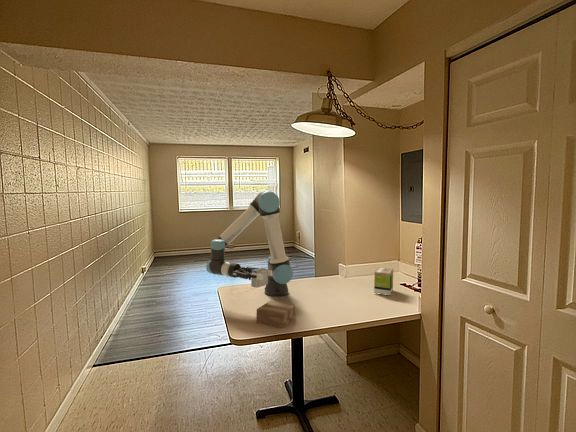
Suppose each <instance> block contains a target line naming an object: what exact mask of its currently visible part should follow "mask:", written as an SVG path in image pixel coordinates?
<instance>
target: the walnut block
mask: <svg viewBox="0 0 576 432" xmlns="http://www.w3.org/2000/svg"><path fill="white" fill-rule="evenodd" d="M295 309H296V305H295V304H292V303H285V302H280V301H274V300H268V301H267V302H266V303H264V304H262V305H261V306H259V307H257V308H256V322H255V323H256V324H260V325H264V326H267V327H268V326H269V327H274V328H279V329H284V328H285V327H286V326H287V325H288V324H290V323H291V322H292V321H293V320H294V319H295V318H296V317H295V314H296V312H295V311H296V310H295Z"/></svg>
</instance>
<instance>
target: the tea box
mask: <svg viewBox="0 0 576 432" xmlns="http://www.w3.org/2000/svg"><path fill="white" fill-rule="evenodd" d="M373 285H374V286H373V289H374V290H373V294H374V293H380V294H386V295H390V296H391V295H392V293H393V291H394V268H387V267H378V268H377V269H376V270H375V271H374V284H373ZM392 290H393V291H392ZM391 292H392V293H391Z"/></svg>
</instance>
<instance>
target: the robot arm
mask: <svg viewBox="0 0 576 432" xmlns="http://www.w3.org/2000/svg"><path fill="white" fill-rule="evenodd" d="M280 213H281V209H280V197H279V195H278V194H277V193H275V192H274V191H272V190H265V191H261V192H259V193H258V194H257V196H256V197H255V198H254V199H253V200H252V201H251V202H250V203H249V206H248V208H247V209H245V211H243V213H241V214H240V216H238V217H237V218H236V219H235V220H234V221H233V222H232V223H231V224H230V225H229V226H228V227H227V228H226V229H225V230H224V231H223V232H222V233H220V235H219V236H218V237H217V238H216V239H212V240H211V243H210V260H208V262H207V264H206V267H205V268H206V271H207V273H208V274H212V275H218V276H224V277H226V278H228V277H230V278H235V279H236V278H240V279H244V280H248V281H251V279H258V280H263V275H262V274H256V273H252V270H254V269H258V268H259V267H251V266H245V267H243V266H241V265H240V264H239V263H236V262H235V263H234V262H228V261H225V254H226V252H225V251H226V248H227V247H228V246H229V245H230V243H232V242H233V241H234V240H235V239H236V237H238V236H239V235H240V234H241V233H242V232H243V231H244V230H245V229H246V228H247V227H248V226H249V225H250V224H252V222H253V221H254V220H255V219H256V218H257V217H258V216H259V217H260V218H262V219H263V223H264V228H265V233H266V238H267V243H268V247H269V252H270V256H269V257H268V258H267V269H268V282H267V285H265V287H264V294H265V295H268V296H270V297H283V296H287V295H288V294H289V287H288V283H289V282H290V281H292V279H293V276H294V270H293V268H292V266H291V263H290V258H289V257H288V256H287V255H286V250H285V249H286V248H285V245H284V244H285V243H284V238H283V235H282V229H281V224H280V219H279V215H280Z"/></svg>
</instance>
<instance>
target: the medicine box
mask: <svg viewBox="0 0 576 432" xmlns="http://www.w3.org/2000/svg"><path fill="white" fill-rule="evenodd" d="M257 268H258V269H254V270H252V273H256V274H262V275H263V280H258V279H251V280H250V281H251V284H250V286H251V287H252V288H256V289H257V288H261V287H264V286H265V287H266V285H267V282H268V268H264V267H257Z"/></svg>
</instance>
